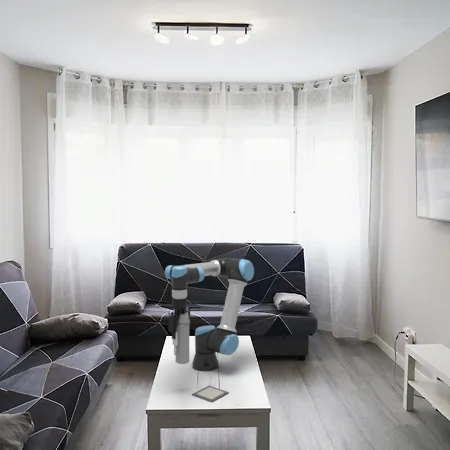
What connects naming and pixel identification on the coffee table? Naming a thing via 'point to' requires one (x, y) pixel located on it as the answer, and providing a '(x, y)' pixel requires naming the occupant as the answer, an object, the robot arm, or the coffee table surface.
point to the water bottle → (182, 340)
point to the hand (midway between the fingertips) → (180, 343)
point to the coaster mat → (210, 393)
